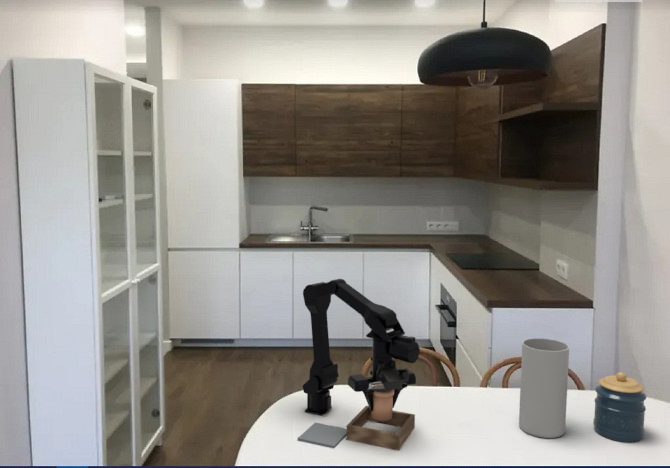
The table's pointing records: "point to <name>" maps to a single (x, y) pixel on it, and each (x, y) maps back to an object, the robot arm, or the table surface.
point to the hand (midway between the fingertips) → (381, 409)
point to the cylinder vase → (543, 387)
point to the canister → (619, 408)
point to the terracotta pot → (382, 403)
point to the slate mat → (323, 435)
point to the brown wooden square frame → (376, 436)
